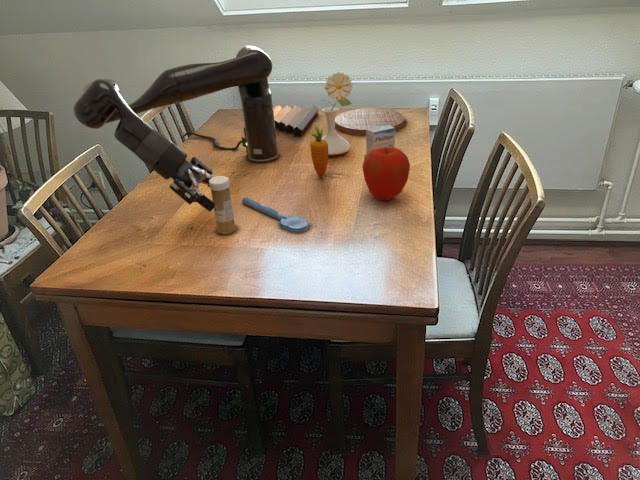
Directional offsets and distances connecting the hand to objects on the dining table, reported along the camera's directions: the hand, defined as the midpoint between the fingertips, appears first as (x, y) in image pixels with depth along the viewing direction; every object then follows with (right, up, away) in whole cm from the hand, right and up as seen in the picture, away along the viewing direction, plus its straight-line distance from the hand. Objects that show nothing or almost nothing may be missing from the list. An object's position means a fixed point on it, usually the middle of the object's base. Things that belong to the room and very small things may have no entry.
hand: (217, 200), depth 123 cm
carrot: (+24, +8, +28) cm, 38 cm away
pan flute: (+8, +34, +73) cm, 80 cm away
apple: (+41, +2, +15) cm, 44 cm away
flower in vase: (+28, +18, +45) cm, 56 cm away
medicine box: (+43, +17, +41) cm, 61 cm away
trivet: (+42, +33, +67) cm, 86 cm away
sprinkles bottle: (+1, -7, +4) cm, 8 cm away
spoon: (+12, -3, +9) cm, 15 cm away
